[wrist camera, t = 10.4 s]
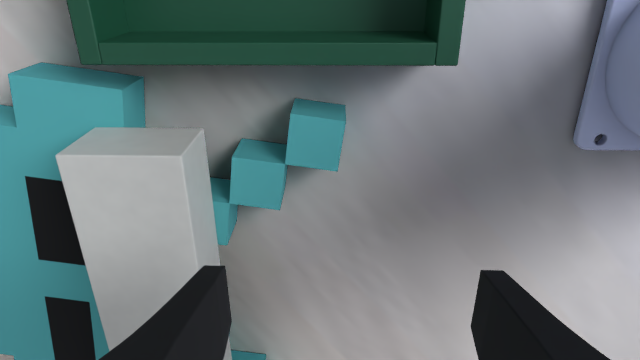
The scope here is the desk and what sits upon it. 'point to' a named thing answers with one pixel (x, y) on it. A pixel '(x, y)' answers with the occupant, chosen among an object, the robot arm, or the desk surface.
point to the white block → (140, 218)
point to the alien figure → (54, 212)
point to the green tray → (268, 32)
